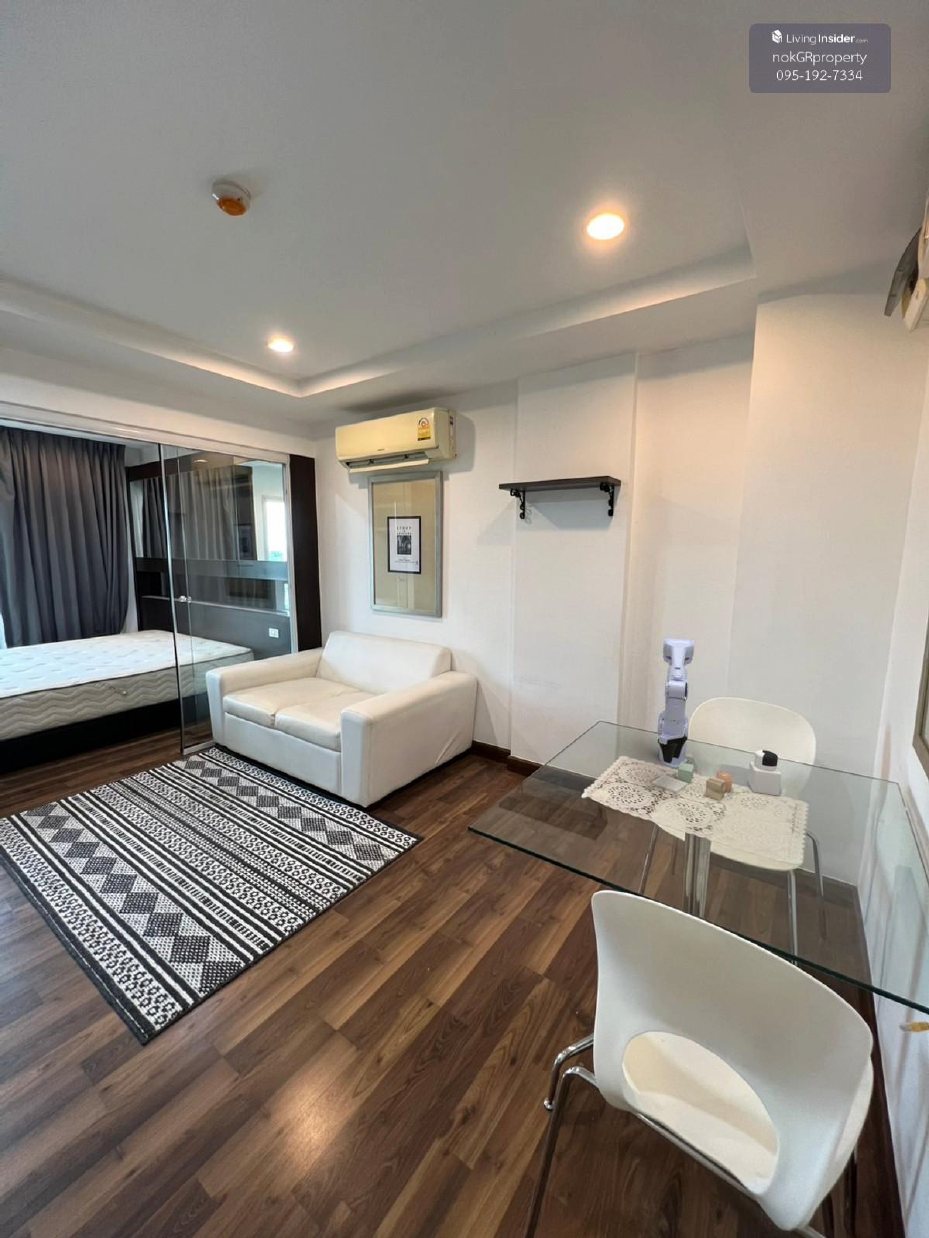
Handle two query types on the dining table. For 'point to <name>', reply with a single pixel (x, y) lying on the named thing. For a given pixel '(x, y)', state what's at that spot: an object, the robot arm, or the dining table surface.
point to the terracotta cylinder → (725, 779)
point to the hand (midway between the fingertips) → (671, 759)
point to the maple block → (715, 788)
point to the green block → (685, 772)
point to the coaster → (669, 783)
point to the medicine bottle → (764, 773)
